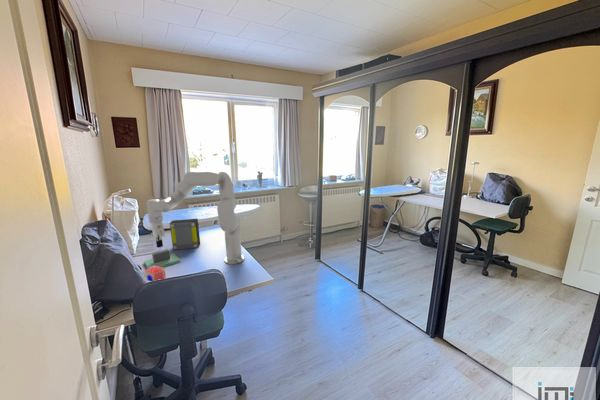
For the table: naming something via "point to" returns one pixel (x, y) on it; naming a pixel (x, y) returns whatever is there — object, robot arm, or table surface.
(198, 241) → the electrical component
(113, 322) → the table surface
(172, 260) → the header board
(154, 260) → the block
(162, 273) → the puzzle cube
